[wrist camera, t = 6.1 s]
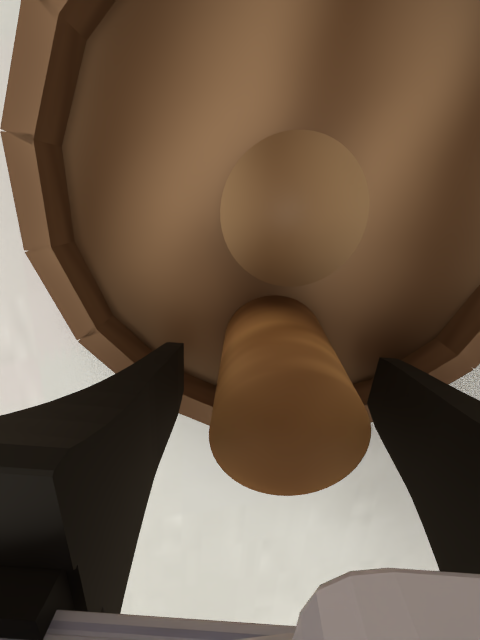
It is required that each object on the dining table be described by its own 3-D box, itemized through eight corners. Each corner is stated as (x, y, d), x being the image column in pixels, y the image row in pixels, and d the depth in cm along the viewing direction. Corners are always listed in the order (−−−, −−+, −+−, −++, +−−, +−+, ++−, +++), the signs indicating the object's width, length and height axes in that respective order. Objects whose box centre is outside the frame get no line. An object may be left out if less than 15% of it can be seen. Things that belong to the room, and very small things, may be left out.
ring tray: (657, -114, 9) (780, -206, 7) (444, 417, 16) (473, 449, 14) (-4, -164, 9) (-81, -273, 7) (81, 391, 16) (57, 419, 14)
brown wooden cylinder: (330, 299, 13) (389, 377, 8) (312, 386, 15) (350, 501, 9) (228, 290, 13) (212, 363, 8) (221, 378, 15) (205, 489, 9)
